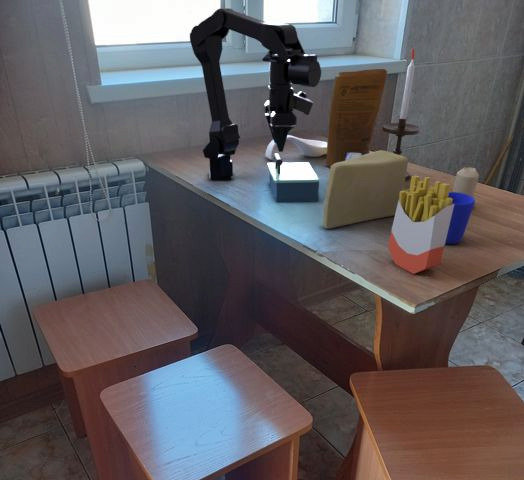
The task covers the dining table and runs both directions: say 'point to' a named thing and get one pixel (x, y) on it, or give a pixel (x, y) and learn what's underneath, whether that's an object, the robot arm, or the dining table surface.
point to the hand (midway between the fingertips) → (278, 147)
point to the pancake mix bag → (353, 113)
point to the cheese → (364, 188)
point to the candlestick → (403, 114)
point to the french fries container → (421, 225)
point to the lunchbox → (294, 191)
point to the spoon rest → (301, 147)
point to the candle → (466, 181)
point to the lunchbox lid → (291, 171)
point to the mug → (459, 216)
